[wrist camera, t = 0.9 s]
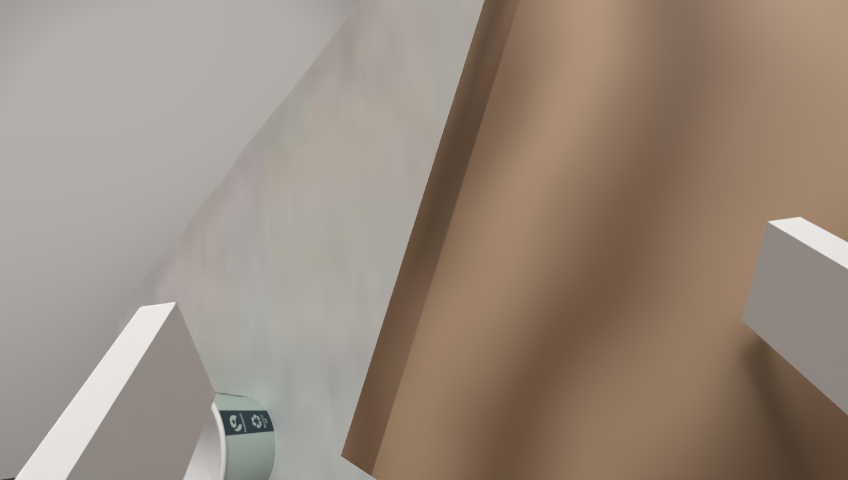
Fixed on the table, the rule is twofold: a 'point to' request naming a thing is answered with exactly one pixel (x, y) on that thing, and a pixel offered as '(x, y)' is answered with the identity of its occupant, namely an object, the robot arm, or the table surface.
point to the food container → (234, 442)
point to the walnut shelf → (614, 249)
